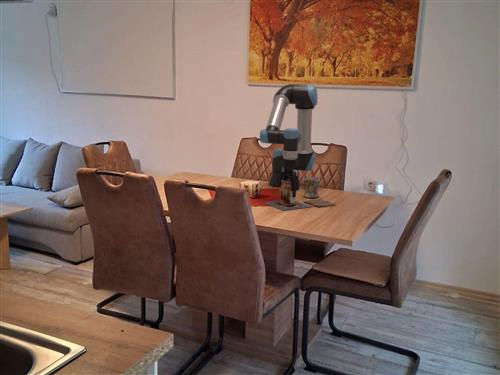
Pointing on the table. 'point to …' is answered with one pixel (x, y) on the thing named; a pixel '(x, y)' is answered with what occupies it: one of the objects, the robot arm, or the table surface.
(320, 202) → the walnut pad
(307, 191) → the mug
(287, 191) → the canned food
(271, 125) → the robot arm
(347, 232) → the table surface
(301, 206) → the frame
